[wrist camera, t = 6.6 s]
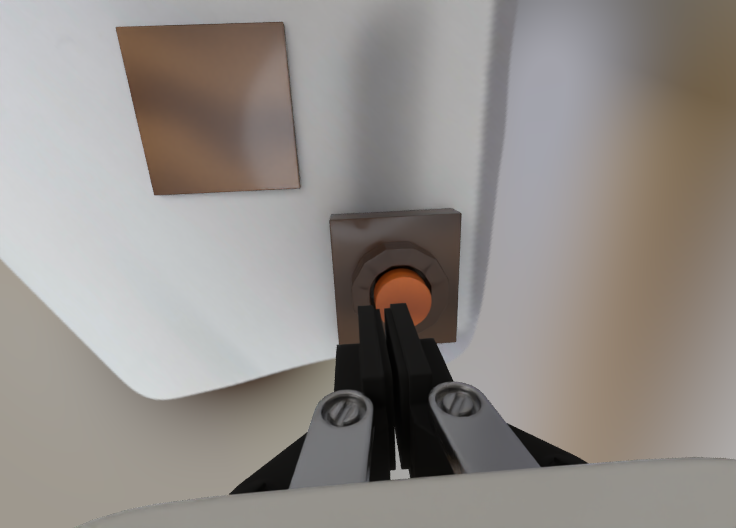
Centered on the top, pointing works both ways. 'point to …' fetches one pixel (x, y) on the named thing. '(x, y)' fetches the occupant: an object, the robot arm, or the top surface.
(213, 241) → the top surface
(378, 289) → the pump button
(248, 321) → the top surface
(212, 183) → the coaster
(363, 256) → the button housing
